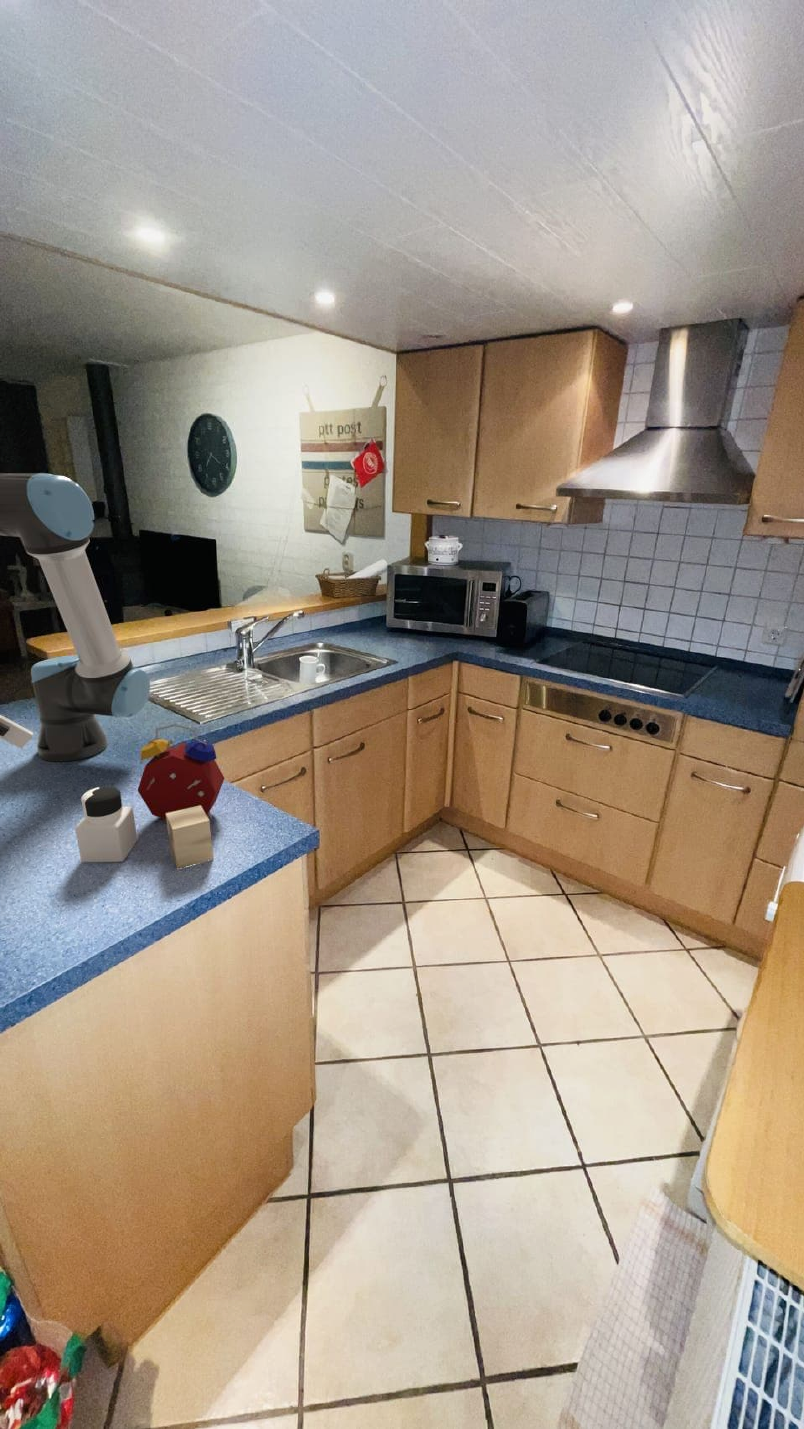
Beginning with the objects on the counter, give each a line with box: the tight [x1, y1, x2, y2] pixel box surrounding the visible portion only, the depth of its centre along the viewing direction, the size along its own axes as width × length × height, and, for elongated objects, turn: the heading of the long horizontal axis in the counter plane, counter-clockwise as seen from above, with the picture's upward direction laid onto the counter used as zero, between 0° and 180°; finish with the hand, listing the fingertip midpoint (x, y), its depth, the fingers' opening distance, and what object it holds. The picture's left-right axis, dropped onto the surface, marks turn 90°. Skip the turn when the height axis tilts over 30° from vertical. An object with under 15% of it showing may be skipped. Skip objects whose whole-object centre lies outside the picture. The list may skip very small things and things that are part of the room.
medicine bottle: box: [74, 786, 138, 863], centre depth 103 cm, size 7×7×12 cm
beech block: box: [166, 805, 214, 870], centre depth 103 cm, size 6×6×8 cm
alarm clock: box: [137, 723, 225, 821], centre depth 112 cm, size 15×9×20 cm, turn 90°
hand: (27, 740), depth 93 cm, fingers closed
